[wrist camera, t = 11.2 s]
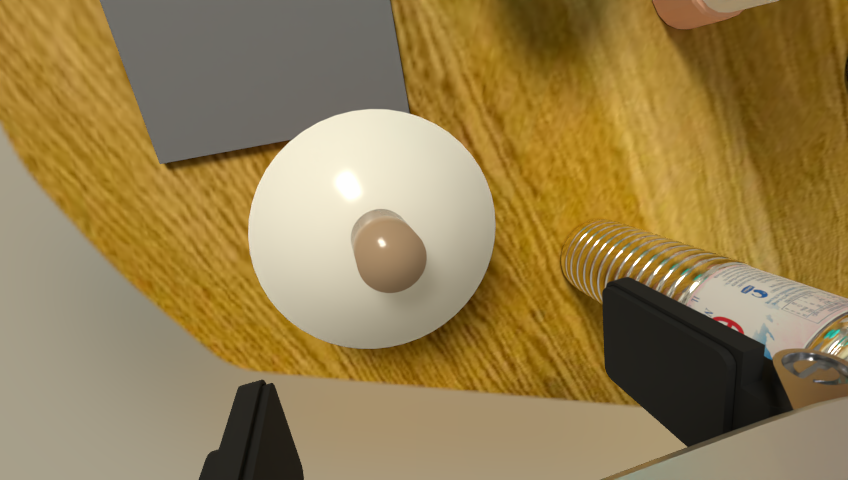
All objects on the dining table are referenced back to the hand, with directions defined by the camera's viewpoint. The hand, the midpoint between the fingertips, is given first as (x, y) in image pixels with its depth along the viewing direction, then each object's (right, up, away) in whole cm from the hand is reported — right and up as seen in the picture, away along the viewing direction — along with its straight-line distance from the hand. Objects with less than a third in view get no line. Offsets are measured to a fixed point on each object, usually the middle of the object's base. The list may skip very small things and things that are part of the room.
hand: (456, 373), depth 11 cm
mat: (-12, +19, +15) cm, 27 cm away
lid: (-4, +4, +15) cm, 16 cm away
